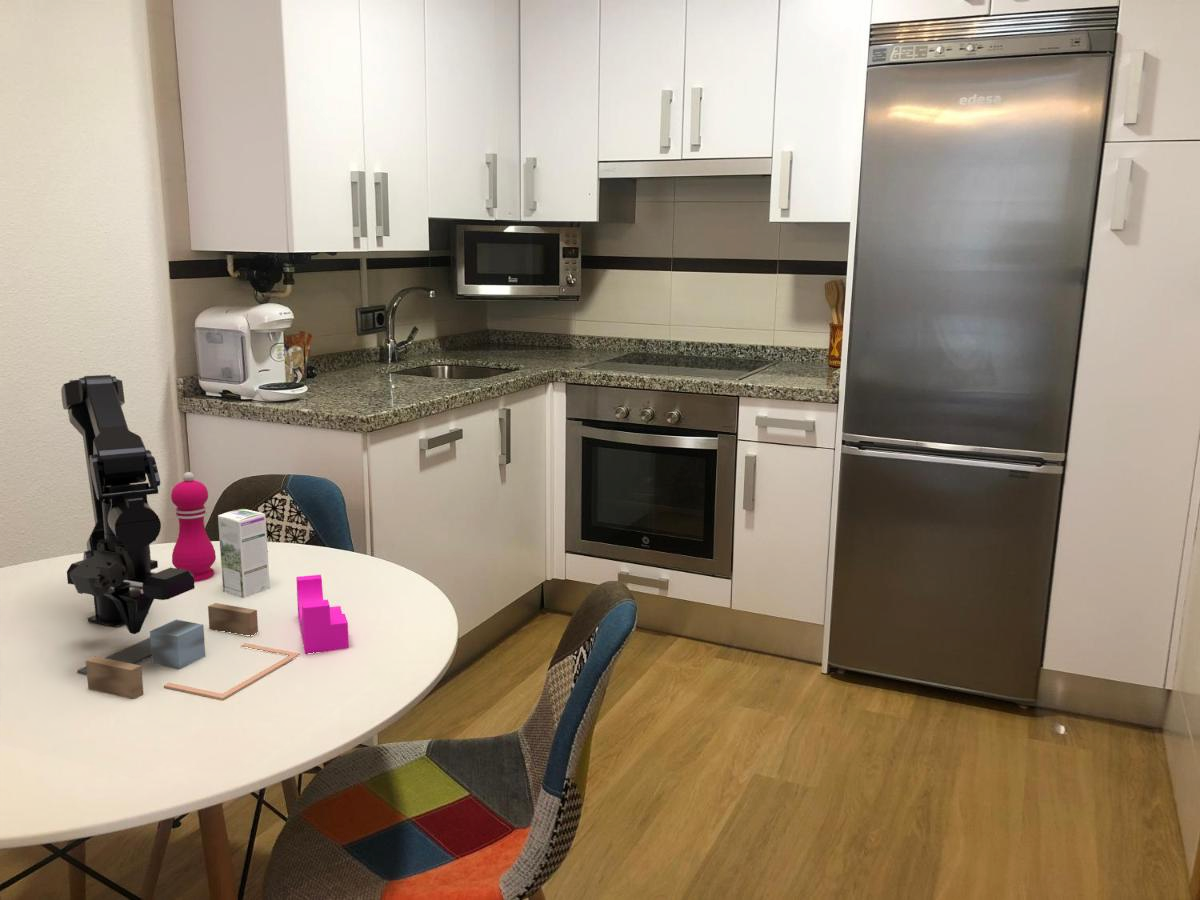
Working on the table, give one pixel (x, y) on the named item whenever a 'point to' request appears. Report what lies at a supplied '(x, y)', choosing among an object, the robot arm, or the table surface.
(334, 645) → the toy block
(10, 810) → the table surface
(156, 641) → the cube
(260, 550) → the syrup box
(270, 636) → the table surface
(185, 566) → the pepper mill
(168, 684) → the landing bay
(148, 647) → the grey flat board
